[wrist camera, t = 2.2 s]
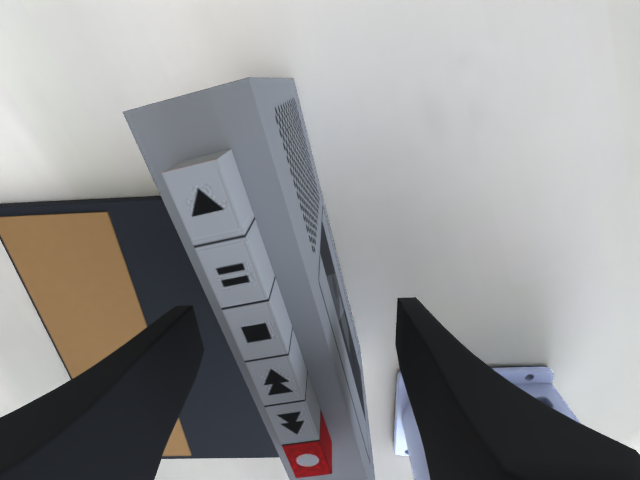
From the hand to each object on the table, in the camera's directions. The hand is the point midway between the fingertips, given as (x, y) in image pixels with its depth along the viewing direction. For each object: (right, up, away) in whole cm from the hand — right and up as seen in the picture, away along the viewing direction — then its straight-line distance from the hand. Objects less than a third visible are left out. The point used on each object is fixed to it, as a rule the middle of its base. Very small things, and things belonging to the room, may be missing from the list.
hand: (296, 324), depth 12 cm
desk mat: (-9, -4, +9) cm, 14 cm away
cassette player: (0, +3, +6) cm, 7 cm away
